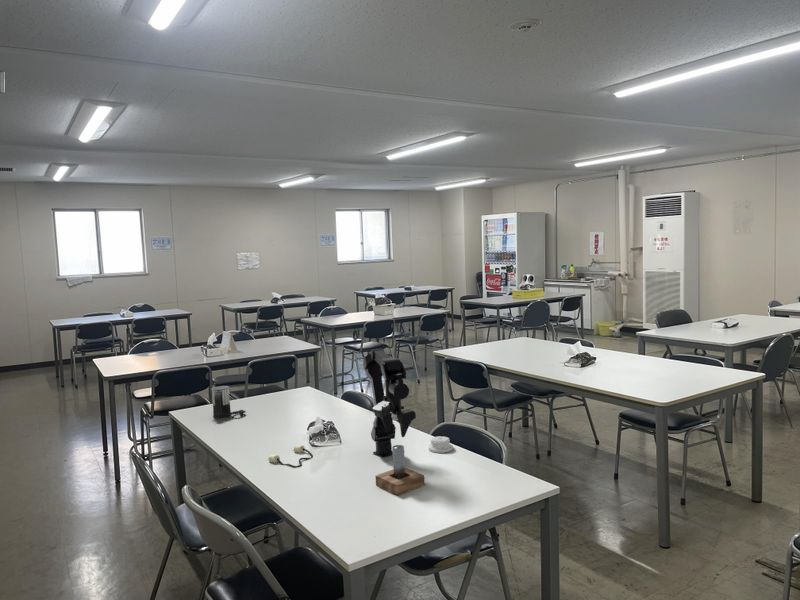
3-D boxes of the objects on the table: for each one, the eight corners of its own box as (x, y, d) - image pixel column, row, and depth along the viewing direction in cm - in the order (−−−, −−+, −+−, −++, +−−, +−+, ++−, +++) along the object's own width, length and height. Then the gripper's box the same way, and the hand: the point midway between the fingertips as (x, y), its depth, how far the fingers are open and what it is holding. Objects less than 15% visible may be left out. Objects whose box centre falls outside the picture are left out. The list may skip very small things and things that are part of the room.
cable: (324, 457, 233) (324, 449, 233) (294, 470, 220) (293, 462, 220) (297, 450, 242) (297, 442, 242) (267, 463, 229) (266, 454, 229)
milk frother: (212, 414, 303) (209, 387, 302) (242, 410, 310) (240, 382, 309) (215, 421, 290) (212, 392, 289) (247, 416, 297) (245, 388, 296)
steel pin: (392, 485, 199) (390, 448, 198) (397, 480, 203) (395, 444, 202) (403, 486, 197) (401, 449, 196) (407, 482, 201) (405, 445, 200)
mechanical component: (425, 447, 238) (432, 455, 228) (424, 436, 238) (432, 444, 228) (447, 443, 241) (456, 451, 231) (447, 433, 240) (456, 440, 231)
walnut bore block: (376, 485, 201) (375, 475, 201) (402, 475, 208) (402, 466, 208) (397, 495, 192) (397, 485, 191) (424, 484, 199) (424, 475, 199)
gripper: (360, 393, 216) (363, 434, 217) (391, 401, 201) (393, 445, 202) (384, 387, 223) (386, 427, 224) (415, 395, 208) (417, 437, 209)
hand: (395, 434), depth 215 cm, fingers open, 9 cm apart
